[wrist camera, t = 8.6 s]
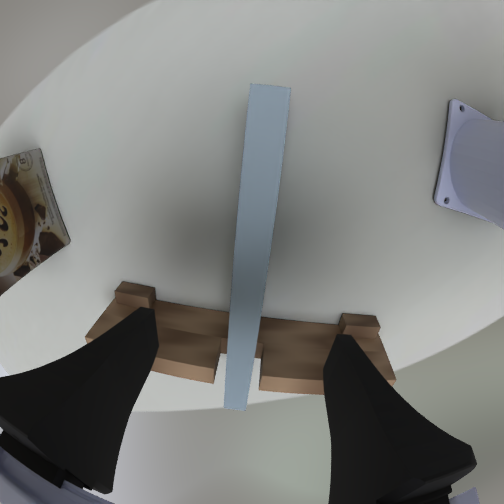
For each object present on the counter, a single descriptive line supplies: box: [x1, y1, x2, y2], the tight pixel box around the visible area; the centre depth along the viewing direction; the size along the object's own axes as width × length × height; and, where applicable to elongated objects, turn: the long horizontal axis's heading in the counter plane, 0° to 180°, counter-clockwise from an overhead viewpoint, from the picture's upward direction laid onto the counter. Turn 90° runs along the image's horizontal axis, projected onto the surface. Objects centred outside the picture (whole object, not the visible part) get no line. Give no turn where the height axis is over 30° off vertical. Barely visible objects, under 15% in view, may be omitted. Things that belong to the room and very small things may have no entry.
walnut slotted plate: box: [85, 282, 396, 395], centre depth 19 cm, size 22×4×6 cm, turn 83°
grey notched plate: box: [224, 84, 291, 411], centre depth 16 cm, size 20×2×6 cm, turn 174°
